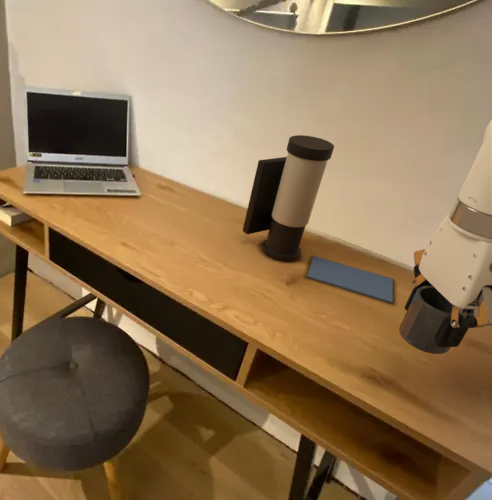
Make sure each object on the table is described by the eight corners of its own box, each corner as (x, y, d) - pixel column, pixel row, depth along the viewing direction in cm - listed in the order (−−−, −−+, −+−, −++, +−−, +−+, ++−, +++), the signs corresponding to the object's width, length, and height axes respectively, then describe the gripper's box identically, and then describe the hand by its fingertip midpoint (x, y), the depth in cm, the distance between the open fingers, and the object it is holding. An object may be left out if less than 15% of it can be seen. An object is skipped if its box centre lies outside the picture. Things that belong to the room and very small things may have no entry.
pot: (431, 322, 73) (450, 285, 69) (460, 354, 67) (482, 315, 63) (390, 322, 72) (407, 285, 68) (415, 354, 66) (435, 315, 63)
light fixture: (272, 267, 98) (304, 152, 85) (239, 241, 106) (264, 133, 93) (314, 256, 103) (350, 147, 90) (279, 232, 111) (308, 129, 98)
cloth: (392, 280, 97) (392, 278, 97) (391, 303, 90) (392, 301, 90) (313, 257, 103) (313, 255, 102) (307, 277, 95) (307, 275, 95)
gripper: (571, 256, 52) (496, 371, 62) (466, 190, 67) (418, 291, 76) (509, 256, 51) (442, 372, 61) (417, 188, 66) (375, 290, 75)
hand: (429, 326), depth 68 cm, fingers closed on pot, 6 cm apart
